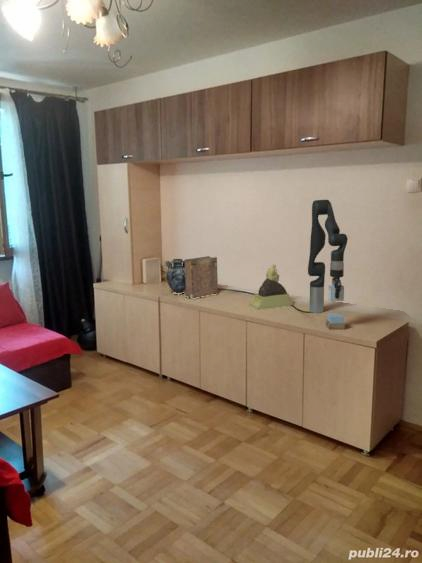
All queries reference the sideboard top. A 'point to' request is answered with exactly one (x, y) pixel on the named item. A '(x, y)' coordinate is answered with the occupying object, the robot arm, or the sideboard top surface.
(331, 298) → the medicine box
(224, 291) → the sideboard top surface
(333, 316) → the slate-blue block
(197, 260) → the book
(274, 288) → the rock garden ornament
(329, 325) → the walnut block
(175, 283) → the decorative vase
